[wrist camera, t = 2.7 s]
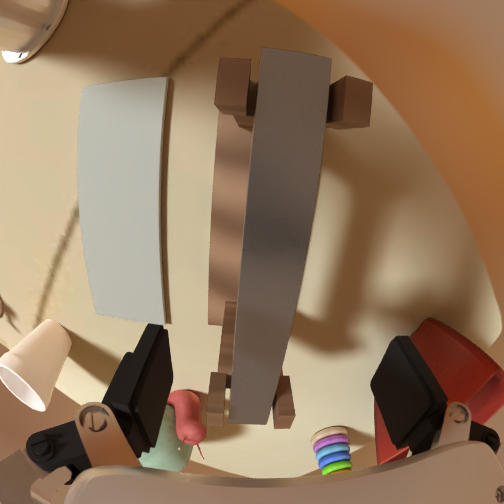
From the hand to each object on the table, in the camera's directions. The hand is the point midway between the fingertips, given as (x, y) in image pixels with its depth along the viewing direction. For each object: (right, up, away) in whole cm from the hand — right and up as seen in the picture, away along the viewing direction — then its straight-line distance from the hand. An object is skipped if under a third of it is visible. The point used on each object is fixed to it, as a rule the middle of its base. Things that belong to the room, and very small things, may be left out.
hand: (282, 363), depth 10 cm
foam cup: (-33, -9, +24) cm, 42 cm away
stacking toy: (+15, -33, +35) cm, 51 cm away
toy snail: (-17, -23, +30) cm, 42 cm away
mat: (-16, +9, +17) cm, 24 cm away
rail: (0, +3, +6) cm, 7 cm away
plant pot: (+27, -13, +27) cm, 40 cm away
